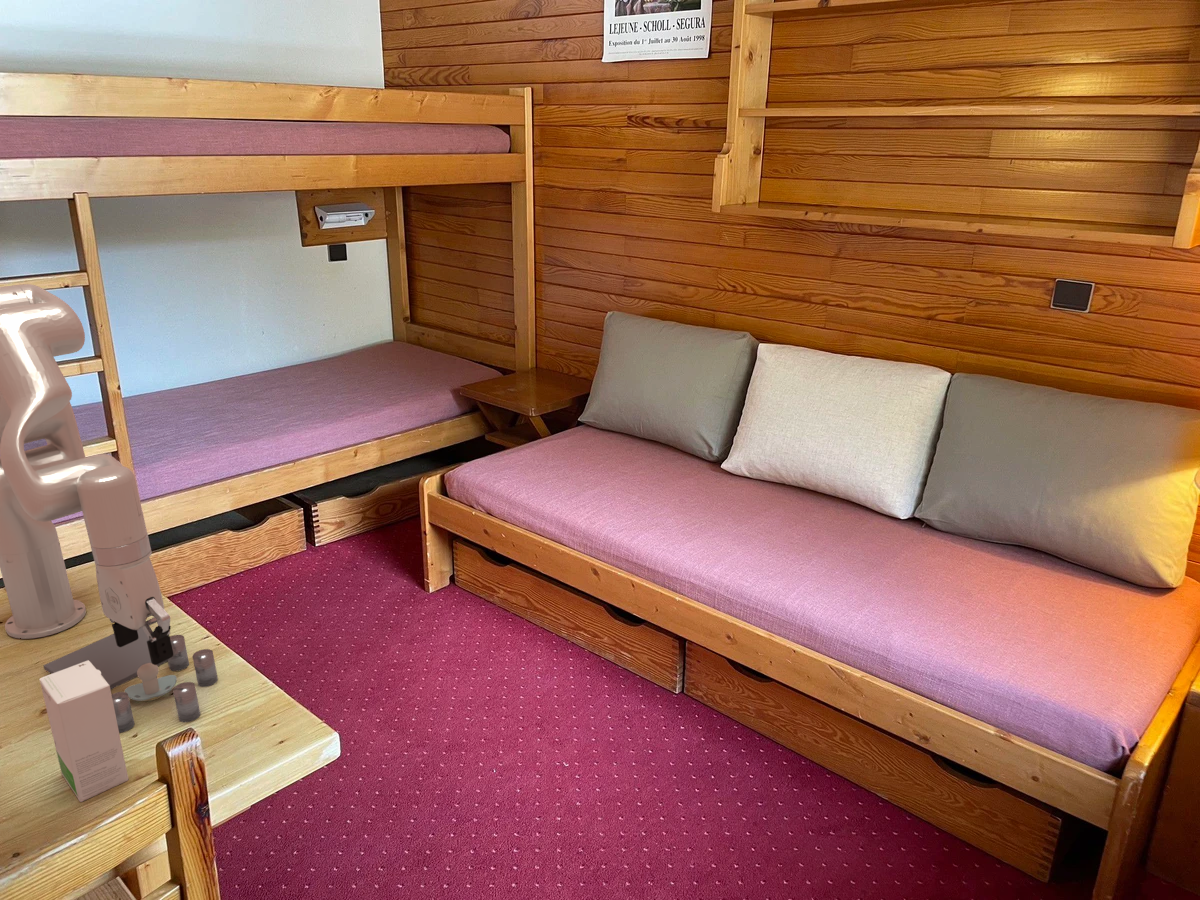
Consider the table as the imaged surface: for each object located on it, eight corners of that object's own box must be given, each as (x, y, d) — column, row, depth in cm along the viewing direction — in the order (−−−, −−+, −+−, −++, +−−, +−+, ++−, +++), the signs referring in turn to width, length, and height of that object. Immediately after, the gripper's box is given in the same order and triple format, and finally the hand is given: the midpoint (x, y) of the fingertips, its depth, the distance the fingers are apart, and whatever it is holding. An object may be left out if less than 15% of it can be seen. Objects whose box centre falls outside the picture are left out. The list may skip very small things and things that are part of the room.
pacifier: (125, 693, 144) (129, 711, 139) (117, 658, 142) (120, 675, 137) (175, 678, 147) (180, 695, 142) (168, 644, 145) (173, 660, 140)
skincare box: (61, 774, 125) (35, 677, 120) (112, 752, 129) (89, 657, 124) (80, 804, 119) (54, 704, 114) (133, 780, 124) (110, 682, 118)
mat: (44, 669, 150) (43, 665, 150) (137, 627, 162) (136, 623, 162) (91, 699, 142) (90, 694, 141) (186, 652, 154) (185, 648, 154)
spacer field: (80, 710, 139) (73, 682, 137) (182, 659, 152) (177, 632, 150) (141, 750, 130) (134, 720, 128) (244, 691, 143) (239, 664, 141)
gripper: (66, 546, 136) (91, 647, 141) (128, 572, 126) (153, 679, 132) (115, 528, 142) (138, 626, 147) (178, 552, 132) (200, 655, 137)
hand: (145, 651), depth 139 cm, fingers open, 9 cm apart
